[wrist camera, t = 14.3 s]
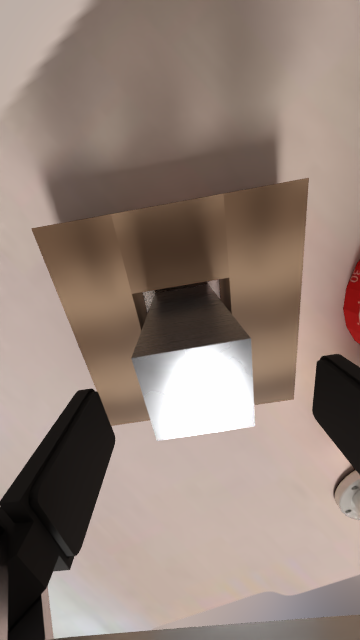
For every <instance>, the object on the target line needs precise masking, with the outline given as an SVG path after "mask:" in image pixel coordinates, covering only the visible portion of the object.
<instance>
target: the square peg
mask: <svg viewBox="0 0 360 640" xmlns="http://www.w3.org/2000/svg"><path fill="white" fill-rule="evenodd" d="M131 359H132V362H133V365H134V369H135V372H136V375H137V378H138V382H139V385H140V388H141V391H142V394H143V398H144V401H145V404H146V407H147V410H148V414H149V417H150V420H151V423H152V426H153V430H154V433H155V436H156V439H157V441H159V440H166V439H173V438H179V437H186V436H193V435H200V434H206V433H213V432H220V431H226V430H233V429H240V428H246V427H253V426H255V416H254V393H253V370H252V347H251V338H250V336H249V335H248V334H247V333H246V331H245V330H244V329H243V328H242V326H241V325H240V324H239V323H238V321H237V320H236V319H235V318H234V316H233V315H232V314H231V313H230V311H229V310H228V309H227V308H226V306H225V305H224V304H223V303H222V301H221V300H220V299H219V298H218V296H217V295H216V294H215V293H214V291H213V290H212V289H211V288H210V286H209V285H208V284H205V285H200V286H194V287H188V288H183V289H177V290H172V291H166V292H160V293H155V295H154V298H153V301H152V303H151V306H150V309H149V312H148V314H147V317H146V320H145V322H144V325H143V328H142V331H141V333H140V336H139V339H138V341H137V344H136V347H135V349H134V352H133V355H132V358H131Z"/></svg>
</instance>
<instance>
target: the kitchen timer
mask: <svg viewBox="0 0 360 640" xmlns="http://www.w3.org/2000/svg"><path fill="white" fill-rule="evenodd" d="M343 310H344V316H345V321H346V327H347V329H348V330H349V332H350V333H351V335H352V337H353V338H354V340H355V341H356V342H358V343H359V344H360V260H359V262H358V263H357V265H356V267H355V269H354V272H353V274H352V276H351V278H350V281H349V283H348V285H347V288H346V295H345V301H344V307H343Z"/></svg>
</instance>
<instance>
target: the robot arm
mask: <svg viewBox="0 0 360 640" xmlns="http://www.w3.org/2000/svg"><path fill="white" fill-rule="evenodd" d="M312 411H313V415H314V417H315V419H316V420H317V422H318V423H319V424H320V425H321V427H322V428H323V429H324V431H325V432H326V433H327V434H328V436H329V437H330V438H331V439H332V441H333V442H334V443H335V444H336V446H337V447H338V448H339V449H340V451H341V452H342V453H343V455H344V456H345V457H346V458H347V460H348V461H349V462H350V463H351V465H352V466H353V467H354V468H355V471H353V472H352V473H350V474H349V475H348V476H346V477H345V478H344V479H343V480H342V481H341V482H340V484H339V485H338V487H337V489H336V492H335V501H336V503H337V505H338V507H339V508H340V510H341V511H342V512H343V513H344V514H345V515H346V516H348V517H350V518H353V519H356V520H360V367H358V366H357V365H355V364H354V363H352V362H351V361H349V360H348V359H346V358H345V357H343V356H342V355H339V354H334V355H327V356H322V357H321V358H320V360H319V361H318V362H317V366H316V377H315V387H314V398H313V409H312ZM114 445H115V435H114V432H113V430H112V427H111V424H110V422H109V419H108V416H107V414H106V411H105V409H104V406H103V403H102V401H101V398H100V396H99V393H98V392H95V391H94V390H93V389H85V390H79V391H77V392H76V394H75V395H74V397H73V398H72V399H71V401H70V402H69V404H68V405H67V406H66V408H65V409H64V411H63V412H62V414H61V415H60V416H59V418H58V419H57V421H56V422H55V424H54V425H53V426H52V428H51V429H50V431H49V432H48V434H47V435H46V436H45V438H44V439H43V441H42V442H41V444H40V445H39V446H38V448H37V449H36V451H35V452H34V454H33V455H32V456H31V458H30V459H29V461H28V462H27V464H26V465H25V466H24V468H23V469H22V471H21V472H20V474H19V475H18V476H17V478H16V479H15V481H14V482H13V484H12V485H11V486H10V488H9V489H8V491H7V492H6V494H5V495H4V496H3V498H2V499H1V501H0V506H1V507H0V640H360V615H351V616H350V615H349V616H336V617H321V618H308V619H295V620H282V621H269V622H255V623H241V624H228V625H216V626H202V627H189V628H177V629H164V630H152V631H139V632H127V633H115V634H103V635H91V636H78V637H68V638H59V639H54V638H53V630H52V621H51V612H50V604H49V595H48V587H47V586H48V583H49V580H50V578H51V575H52V573H53V571H62V570H70V568H71V565H72V562H73V559H74V556H76V555H77V554H78V553H79V551H80V549H81V547H82V544H83V541H84V538H85V535H86V532H87V529H88V525H89V522H90V519H91V516H92V513H93V510H94V507H95V504H96V501H97V498H98V494H99V491H100V488H101V485H102V482H103V479H104V476H105V473H106V470H107V467H108V464H109V460H110V457H111V454H112V451H113V448H114Z"/></svg>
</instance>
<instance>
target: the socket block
mask: <svg viewBox="0 0 360 640" xmlns="http://www.w3.org/2000/svg"><path fill="white" fill-rule="evenodd" d="M308 182H309V178H306V179H300V180H295V181H289V182H284V183H278V184H273V185H267V186H262V187H256V188H251V189H245V190H240V191H235V192H229V193H224V194H218V195H213V196H207V197H202V198H196V199H191V200H185V201H180V202H174V203H169V204H163V205H158V206H152V207H147V208H141V209H136V210H130V211H125V212H120V213H114V214H109V215H103V216H98V217H92V218H87V219H81V220H76V221H70V222H65V223H59V224H54V225H48V226H43V227H37V228H32V231H33V234H34V236H35V239H36V241H37V244H38V246H39V249H40V251H41V254H42V256H43V259H44V261H45V263H46V266H47V268H48V271H49V273H50V276H51V278H52V281H53V283H54V286H55V288H56V291H57V293H58V296H59V298H60V301H61V303H62V306H63V308H64V310H65V313H66V315H67V318H68V320H69V323H70V325H71V328H72V330H73V333H74V335H75V338H76V340H77V343H78V345H79V348H80V350H81V353H82V355H83V357H84V360H85V362H86V365H87V367H88V370H89V372H90V375H91V377H92V380H93V382H94V385H95V387H96V390H97V392H98V393H99V396H100V398H101V401H102V403H103V406H104V409H105V411H106V414H107V416H108V419H109V422H110V424H111V426H113V425H120V424H127V423H134V422H141V421H148V420H150V417H149V414H148V410H147V407H146V404H145V401H144V398H143V394H142V391H141V388H140V385H139V382H138V378H137V375H136V372H135V369H134V365H133V362H132V359H131V358H132V355H133V352H134V349H135V347H136V344H137V341H138V339H139V336H140V333H141V331H142V328H143V325H144V322H145V320H146V317H147V310H146V306H145V301H144V297H143V293H142V292H146V291H152V290H158V289H164V288H170V287H176V286H182V285H188V284H194V283H200V282H206V281H212V280H218V279H219V285H220V297H221V301H222V303H223V304H224V305H225V306H226V308H227V309H228V310H229V311H230V313H231V314H232V315H233V316H234V318H235V319H236V320H237V321H238V323H239V324H240V325H241V326H242V328H243V329H244V330H245V331H246V333H247V334H248V335H249V336H250V338H251V347H252V370H253V393H254V405H258V404H265V403H272V402H279V401H285V400H292V399H294V387H295V373H296V358H297V343H298V329H299V314H300V299H301V285H302V270H303V255H304V241H305V226H306V211H307V197H308Z"/></svg>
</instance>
